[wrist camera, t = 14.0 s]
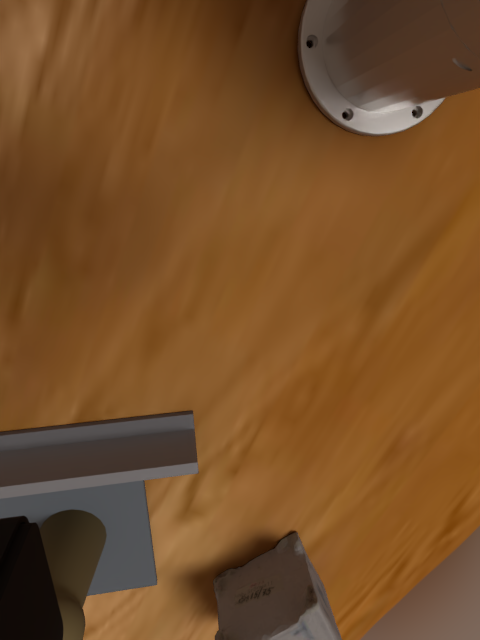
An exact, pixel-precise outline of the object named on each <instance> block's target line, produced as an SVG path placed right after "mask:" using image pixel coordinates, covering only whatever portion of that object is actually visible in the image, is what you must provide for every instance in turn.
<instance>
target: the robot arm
mask: <svg viewBox="0 0 480 640" xmlns="http://www.w3.org/2000/svg"><path fill="white" fill-rule="evenodd" d="M307 41H309V42H310V43H311V45H312V46H311V48H308V46H307V45H306V42H307ZM298 56H299V64H300V70H301V73H302V76H303V80H304V83H305V86H306V88H307V90H308V92H309V94H310V96H311V98H312V100H313V101H314V103H315V104H316V105H317V106H318V108H319V109H320V110H321V112H322V113H323V114H324V115H325V116H326V117H328V118H329V119H330V120H331V121H332V122H333V123H334V124H336V125H338V126H340V127H342V128H343V129H345V130H347V131H349V132H353V133H356V134H360V135H365V136H383V135H390V134H394V133H398V132H402V131H405V130H407V129H409V128H411V127H413V126H415V125H417V124H419V123H420V122H421V121H423V120H424V119H425V118H427V117H428V116H429V115H431V114H432V113H433V112H434V111H435V109H436V108H437V107H438V106H439V105H440V104H441V103H442V102H443V101H444V99H445V98H446V97H448V96H452V95H456V94H459V93H463V92H466V91H470V90H474V89H477V88H480V0H307V1H306V3H305V6H304V9H303V11H302V15H301V20H300V25H299V30H298ZM412 110H413V111H414V116H412ZM343 112H344V113H345V114H346V118H345V119H343V118H342V113H343ZM0 640H63V620H62V616H61V612H60V608H59V605H58V601H57V597H56V593H55V589H54V585H53V581H52V577H51V573H50V569H49V565H48V561H47V557H46V554H45V550H44V546H43V542H42V538H41V534H40V530H39V527H38V524H37V523H35V522H34V523H29V521H28V518H27V517H26V516H17V517H9V518H1V519H0Z"/></svg>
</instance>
